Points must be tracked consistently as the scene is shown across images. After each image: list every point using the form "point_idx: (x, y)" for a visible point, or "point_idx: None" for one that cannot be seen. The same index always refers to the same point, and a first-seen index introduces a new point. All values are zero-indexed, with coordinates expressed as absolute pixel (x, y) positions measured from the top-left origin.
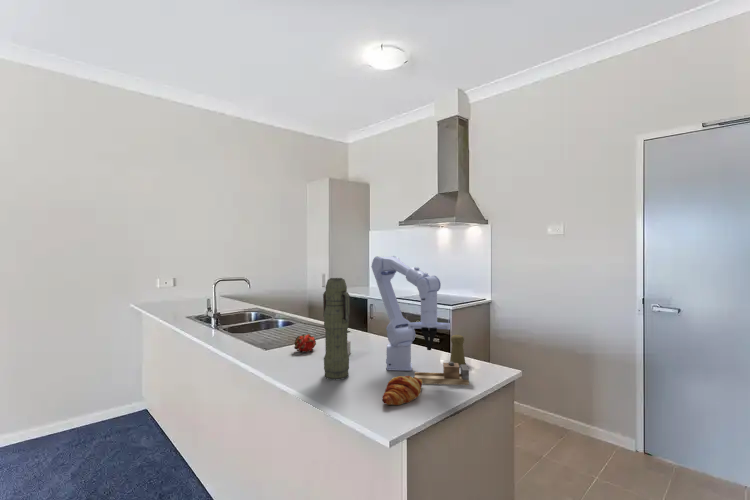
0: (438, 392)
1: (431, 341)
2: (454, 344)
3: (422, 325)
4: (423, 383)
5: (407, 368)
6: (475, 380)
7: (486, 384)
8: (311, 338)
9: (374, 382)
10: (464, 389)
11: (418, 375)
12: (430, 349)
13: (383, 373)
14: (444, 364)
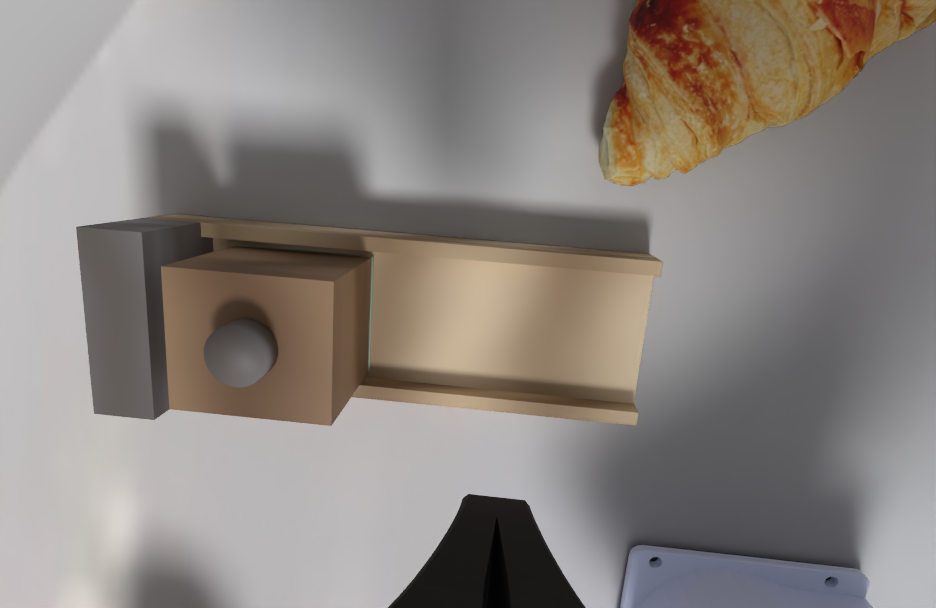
0: (460, 30)
1: (445, 580)
2: None
3: None
4: (568, 248)
5: (668, 581)
6: None
7: (31, 236)
8: None
9: None
10: (222, 113)
11: (599, 385)
12: (475, 497)
13: (903, 499)
14: (325, 360)
